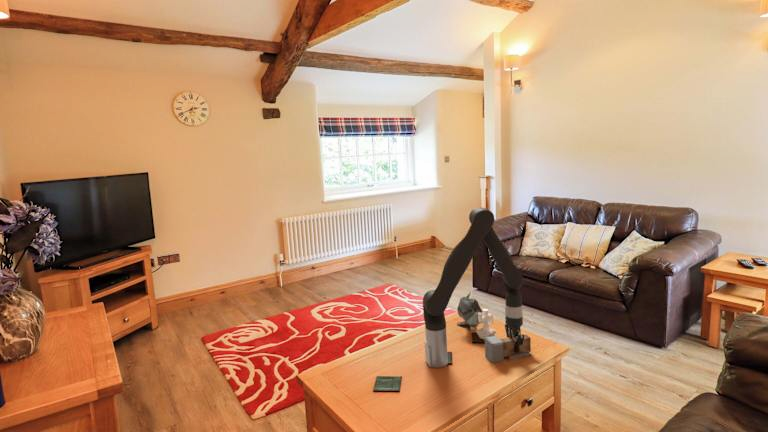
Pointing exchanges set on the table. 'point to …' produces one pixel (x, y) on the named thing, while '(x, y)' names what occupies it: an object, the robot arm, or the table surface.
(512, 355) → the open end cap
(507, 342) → the walnut slat
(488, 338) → the socket end cap
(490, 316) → the figurine
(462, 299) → the narwhal figurine
